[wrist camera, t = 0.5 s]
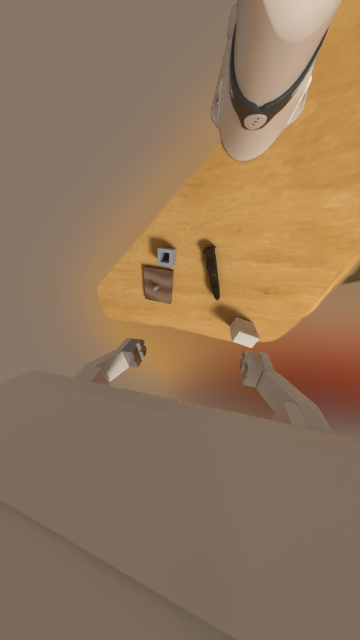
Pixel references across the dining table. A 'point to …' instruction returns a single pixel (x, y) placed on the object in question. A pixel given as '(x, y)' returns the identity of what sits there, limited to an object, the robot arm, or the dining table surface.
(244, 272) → the dining table surface
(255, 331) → the small box
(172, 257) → the collar
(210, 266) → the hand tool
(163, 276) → the mounting plate
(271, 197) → the dining table surface
